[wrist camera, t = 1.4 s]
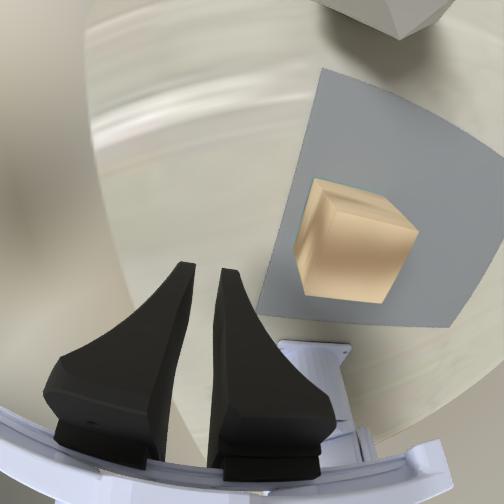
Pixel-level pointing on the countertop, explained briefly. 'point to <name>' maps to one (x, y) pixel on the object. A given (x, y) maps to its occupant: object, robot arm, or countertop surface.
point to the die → (392, 13)
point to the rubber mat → (401, 196)
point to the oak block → (350, 243)
